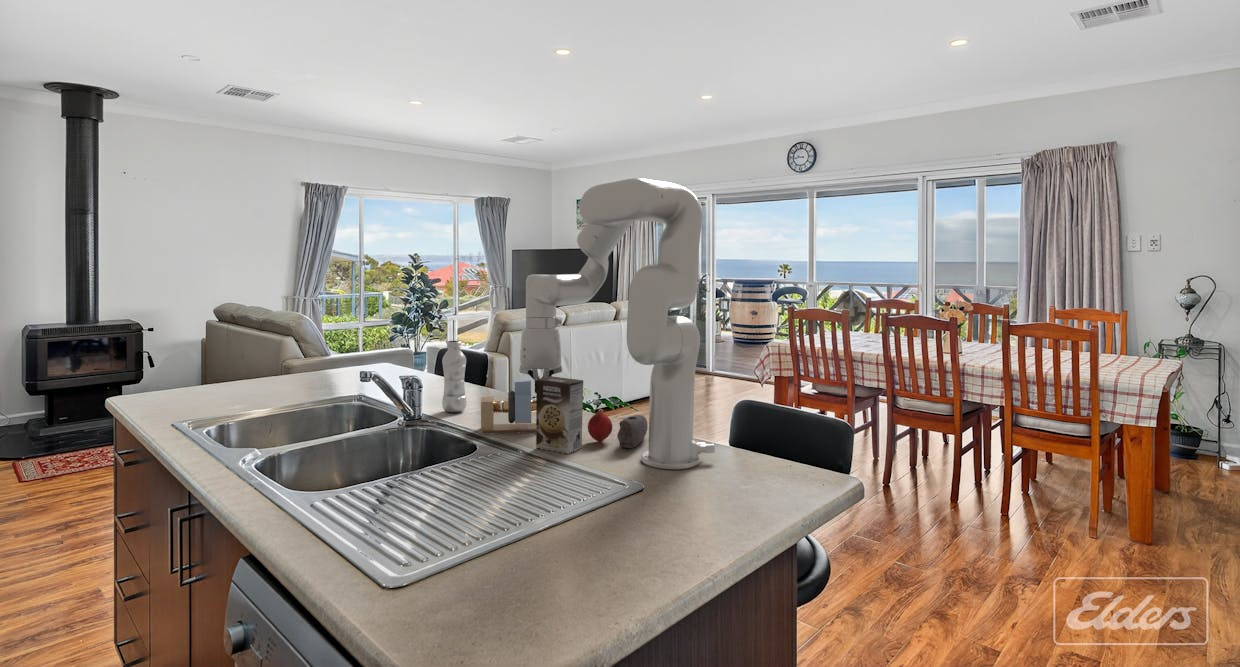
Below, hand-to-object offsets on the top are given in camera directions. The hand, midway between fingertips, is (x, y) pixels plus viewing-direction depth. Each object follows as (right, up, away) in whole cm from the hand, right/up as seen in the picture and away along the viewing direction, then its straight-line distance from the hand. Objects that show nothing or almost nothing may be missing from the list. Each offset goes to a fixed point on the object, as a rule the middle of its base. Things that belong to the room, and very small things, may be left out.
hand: (540, 395), depth 171 cm
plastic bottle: (-26, -7, +18) cm, 33 cm away
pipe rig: (-7, -9, 0) cm, 11 cm away
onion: (+15, -10, -10) cm, 21 cm away
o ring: (-7, -7, -1) cm, 10 cm away
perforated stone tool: (+24, -11, -11) cm, 28 cm away
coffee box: (+6, -11, -16) cm, 20 cm away
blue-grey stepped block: (-5, -6, 0) cm, 8 cm away
